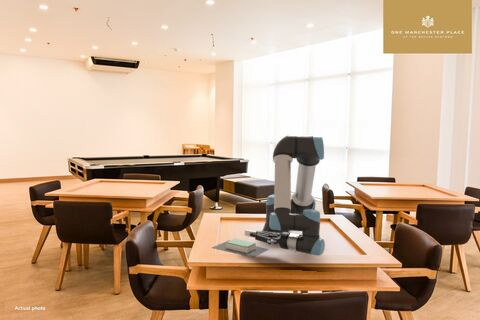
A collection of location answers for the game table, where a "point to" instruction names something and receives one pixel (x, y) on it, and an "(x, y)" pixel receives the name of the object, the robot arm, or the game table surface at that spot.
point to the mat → (249, 254)
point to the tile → (241, 245)
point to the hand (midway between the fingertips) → (245, 232)
